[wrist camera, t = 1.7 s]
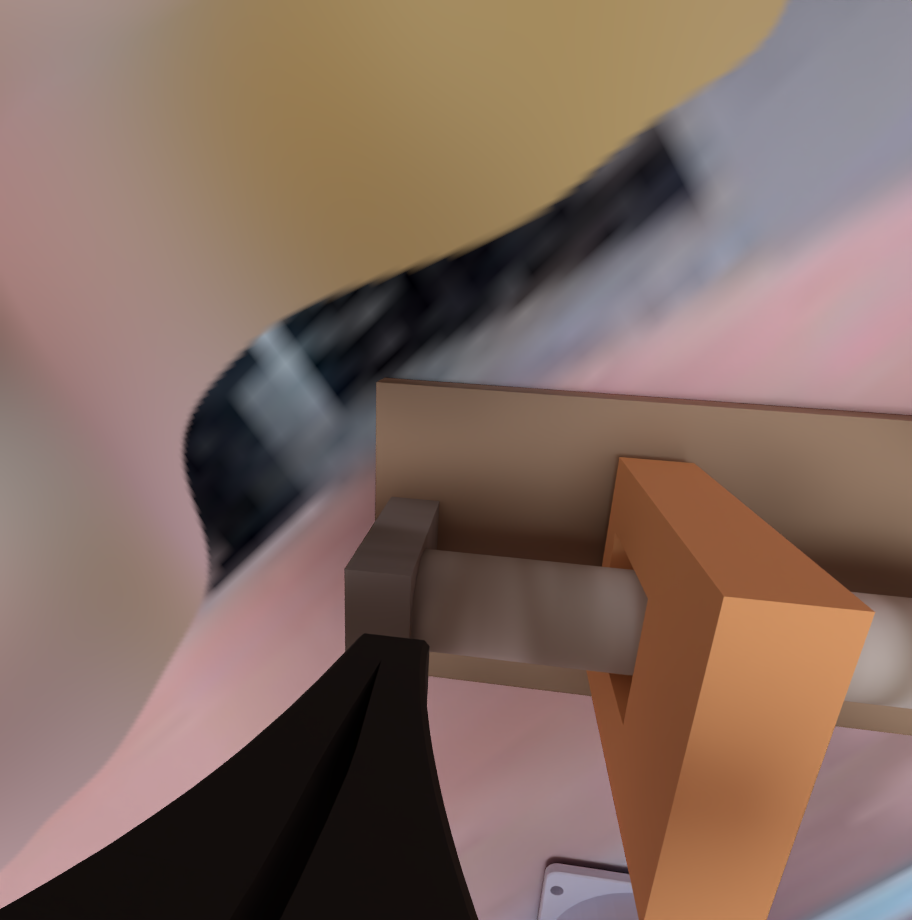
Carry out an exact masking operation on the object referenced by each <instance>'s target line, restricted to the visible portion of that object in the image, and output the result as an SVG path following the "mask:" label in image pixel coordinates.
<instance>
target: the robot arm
mask: <svg viewBox="0 0 912 920" xmlns="http://www.w3.org/2000/svg"><path fill="white" fill-rule="evenodd" d="M429 650H430V646H429V645H428V644H427V642H426V641H425V640H419V639H410V638H402V637H393V636H384V635H376V634H367V633H364V634H362V635H361V636H360V637H359V638H358V639H357V640H356V641H355V642H354V643H353V644H352V645H351V646H350V647H349V648H348V649H347V650H346V651H345V653H344V654H343V655H342V656H341V657H340V658H339V659H338V660H337V661H336V662H335V663H334V664H333V665H332V666H331V667H330V668H329V669H328V670H327V671H326V672H325V673H324V674H323V675H322V676H321V677H320V678H319V679H318V680H317V681H316V682H315V683H314V684H313V685H312V686H311V687H310V688H309V689H308V690H307V691H306V692H305V693H304V694H303V695H302V696H301V697H300V698H299V699H298V700H297V701H296V702H295V703H293V704H292V705H291V706H290V707H289V708H288V709H287V710H286V711H285V712H284V713H283V714H282V715H280V716H279V717H278V718H277V719H276V720H275V721H274V722H272V723H271V724H270V725H269V726H268V727H267V728H266V729H264V730H263V731H262V732H261V733H260V734H259V735H258V736H256V737H255V738H254V739H253V740H252V741H251V742H250V743H248V744H247V745H246V746H245V747H244V748H242V749H241V750H240V751H239V752H238V753H236V754H235V755H234V756H233V757H231V758H230V759H229V760H228V761H226V762H225V763H224V764H223V765H221V766H220V767H219V768H218V769H216V770H215V771H214V772H212V773H211V774H210V775H208V776H207V777H206V778H204V779H203V780H202V781H200V782H199V783H198V784H196V785H195V786H194V787H193V788H191V789H190V790H188V791H187V792H186V793H184V794H183V795H181V796H180V797H179V798H177V799H176V800H174V801H173V802H171V803H170V804H169V805H167V806H166V807H164V808H163V809H161V810H160V811H159V812H157V813H156V814H154V815H153V816H151V817H150V818H148V819H147V820H145V821H144V822H142V823H141V824H139V825H138V826H136V827H135V828H133V829H132V830H130V831H129V832H127V833H126V834H125V835H123V836H122V837H120V838H119V839H117V840H116V841H114V842H113V843H111V844H109V845H108V846H106V847H105V848H103V849H101V850H100V851H98V852H97V853H95V854H93V855H92V856H90V857H88V858H87V859H85V860H83V861H82V862H80V863H78V864H77V865H75V866H73V867H72V868H70V869H68V870H67V871H65V872H64V873H62V874H60V875H59V876H57V877H55V878H54V879H52V880H50V881H48V882H47V883H45V884H43V885H41V886H40V887H38V888H36V889H35V890H33V891H31V892H29V893H28V894H26V895H24V896H23V897H21V898H19V899H17V900H16V901H14V902H12V903H10V904H8V905H7V906H5V907H3V908H1V909H0V920H478V917H477V914H476V911H475V908H474V905H473V902H472V899H471V896H470V893H469V890H468V887H467V884H466V881H465V878H464V875H463V872H462V869H461V865H460V862H459V858H458V855H457V851H456V848H455V844H454V841H453V837H452V834H451V830H450V826H449V822H448V818H447V814H446V811H445V807H444V803H443V798H442V794H441V789H440V785H439V780H438V776H437V770H436V765H435V760H434V754H433V749H432V743H431V736H430V729H429V720H428V712H427V692H428V671H429ZM538 920H639V918H638V914H637V909H636V904H635V899H634V895H633V890H632V885H631V880H630V876H629V874H626V873H619V872H612V871H606V870H599V869H593V868H586V867H580V866H573V865H566V864H560V863H554V864H550V865H549V866H548V867H547V868H546V870H545V875H544V881H543V888H542V894H541V901H540V907H539V914H538Z"/></svg>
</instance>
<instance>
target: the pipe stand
mask: <svg viewBox="0 0 912 920" xmlns="http://www.w3.org/2000/svg"><path fill="white" fill-rule="evenodd" d="M619 457H625V458H637V459H650V460H662V461H674V462H686V463H695V464H696V465H697V466H698V467H700V468H701V469H702V470H703V471H704V472H706V473H707V474H708V475H709V476H710V477H712V478H713V479H714V480H715V481H717V482H718V483H719V484H720V485H721V486H723V487H724V488H725V489H726V490H727V491H729V492H730V493H731V494H732V495H734V496H735V497H736V498H737V499H738V500H740V501H741V502H742V503H743V504H744V505H746V506H747V507H748V508H749V509H751V510H752V511H753V512H754V513H755V514H757V515H758V516H759V517H760V518H761V519H763V520H764V521H765V522H766V523H768V524H769V525H770V526H771V527H772V528H774V529H775V530H776V531H777V532H779V533H780V534H781V535H782V536H783V537H785V538H786V539H787V540H788V541H789V542H791V543H792V544H793V545H794V546H796V547H797V548H798V549H799V550H800V551H802V552H803V553H804V554H805V555H806V556H808V557H809V558H810V559H811V560H813V561H814V562H815V563H816V564H817V565H819V566H820V567H821V568H822V569H823V570H825V571H826V572H827V573H828V574H830V575H831V576H832V577H833V578H834V579H836V580H837V581H838V582H839V583H841V584H842V585H843V586H844V587H845V588H847V589H848V590H849V591H850V592H851V593H853V594H854V595H855V596H856V597H858V598H859V599H860V600H861V601H862V602H864V603H865V604H866V605H867V606H868V607H870V608H871V609H872V610H873V611H875V615H874V617H873V620H872V623H871V626H870V629H869V631H868V634H867V637H866V640H865V643H864V646H863V648H862V651H861V654H860V657H859V660H858V663H857V665H856V668H855V671H854V674H853V677H852V679H851V682H850V685H849V688H848V691H847V694H846V696H845V699H844V702H843V705H842V708H841V711H840V713H839V716H838V719H837V722H836V725H835V726H839V727H847V728H855V729H863V730H871V731H879V732H887V733H895V734H903V735H912V416H910V415H896V414H883V413H869V412H855V411H841V410H827V409H813V408H799V407H785V406H771V405H757V404H743V403H729V402H715V401H701V400H687V399H673V398H659V397H646V396H632V395H618V394H604V393H590V392H576V391H562V390H548V389H534V388H520V387H506V386H492V385H478V384H464V383H450V382H436V381H422V380H408V379H395V378H384V379H382V380H380V381H378V382H376V495H375V523H374V524H373V526H372V527H371V529H370V530H369V532H368V534H367V535H366V537H365V538H364V540H363V541H362V543H361V544H360V546H359V547H358V549H357V551H356V552H355V554H354V555H353V557H352V558H351V560H350V561H349V563H348V565H347V566H346V568H345V651H346V650H347V649H348V648H349V647H350V646H351V645H352V644H353V643H354V642H355V641H356V640H357V639H358V638H359V637H360V636H361V635H362V634H364V633H367V634H376V635H384V636H393V637H402V638H410V639H419V640H425V641H426V642H427V644H428V645H429V646H430V650H429V671H428V676H433V677H441V678H449V679H457V680H465V681H473V682H481V683H490V684H498V685H506V686H514V687H522V688H530V689H538V690H546V691H554V692H563V693H571V694H579V695H587V696H592V695H591V691H590V686H589V681H588V677H587V672H586V670H589V671H597V672H605V673H614V674H622V675H631V676H633V672H634V667H635V662H636V657H637V652H638V647H639V642H640V636H641V631H642V626H643V621H644V616H645V611H646V606H647V601H648V598H647V596H646V594H645V592H644V590H643V587H642V585H641V583H640V581H639V579H638V577H637V575H636V573H635V571H634V570H630V569H620V568H610V567H602V562H603V556H604V550H605V544H606V537H607V531H608V525H609V519H610V512H611V506H612V500H613V494H614V488H615V481H616V475H617V469H618V463H619Z"/></svg>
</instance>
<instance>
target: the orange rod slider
mask: <svg viewBox="0 0 912 920" xmlns="http://www.w3.org/2000/svg"><path fill="white" fill-rule="evenodd" d="M602 567H610V568H620V569H630V570H634V571H635V573H636V575H637V577H638V579H639V581H640V583H641V585H642V587H643V590H644V592H645V594H646V596H647V598H648V601H647V606H646V611H645V616H644V621H643V626H642V631H641V636H640V642H639V647H638V652H637V657H636V662H635V667H634V672H633V676H631V675H622V674H614V673H605V672H597V671H589V670H586V672H587V677H588V681H589V686H590V691H591V695H592V700H593V705H594V710H595V714H596V719H597V724H598V729H599V733H600V738H601V743H602V748H603V752H604V757H605V762H606V767H607V771H608V776H609V781H610V786H611V790H612V795H613V800H614V805H615V809H616V814H617V819H618V824H619V828H620V833H621V838H622V842H623V847H624V852H625V857H626V861H627V866H628V871H629V876H630V880H631V885H632V890H633V895H634V899H635V904H636V909H637V914H638V918H639V920H766V919H767V917H768V914H769V911H770V908H771V905H772V903H773V900H774V897H775V894H776V891H777V888H778V886H779V883H780V880H781V877H782V874H783V871H784V869H785V866H786V863H787V860H788V857H789V855H790V852H791V849H792V846H793V843H794V840H795V838H796V835H797V832H798V829H799V826H800V823H801V821H802V818H803V815H804V812H805V809H806V807H807V804H808V801H809V798H810V795H811V792H812V790H813V787H814V784H815V781H816V778H817V775H818V773H819V770H820V767H821V764H822V761H823V759H824V756H825V753H826V750H827V747H828V744H829V742H830V739H831V736H832V733H833V730H834V727H835V725H836V722H837V719H838V716H839V713H840V711H841V708H842V705H843V702H844V699H845V696H846V694H847V691H848V688H849V685H850V682H851V679H852V677H853V674H854V671H855V668H856V665H857V663H858V660H859V657H860V654H861V651H862V648H863V646H864V643H865V640H866V637H867V634H868V631H869V629H870V626H871V623H872V620H873V617H874V615H875V611H873V610H872V609H871V608H870V607H868V606H867V605H866V604H865V603H864V602H862V601H861V600H860V599H859V598H858V597H856V596H855V595H854V594H853V593H851V592H850V591H849V590H848V589H847V588H845V587H844V586H843V585H842V584H841V583H839V582H838V581H837V580H836V579H834V578H833V577H832V576H831V575H830V574H828V573H827V572H826V571H825V570H823V569H822V568H821V567H820V566H819V565H817V564H816V563H815V562H814V561H813V560H811V559H810V558H809V557H808V556H806V555H805V554H804V553H803V552H802V551H800V550H799V549H798V548H797V547H796V546H794V545H793V544H792V543H791V542H789V541H788V540H787V539H786V538H785V537H783V536H782V535H781V534H780V533H779V532H777V531H776V530H775V529H774V528H772V527H771V526H770V525H769V524H768V523H766V522H765V521H764V520H763V519H761V518H760V517H759V516H758V515H757V514H755V513H754V512H753V511H752V510H751V509H749V508H748V507H747V506H746V505H744V504H743V503H742V502H741V501H740V500H738V499H737V498H736V497H735V496H734V495H732V494H731V493H730V492H729V491H727V490H726V489H725V488H724V487H723V486H721V485H720V484H719V483H718V482H717V481H715V480H714V479H713V478H712V477H710V476H709V475H708V474H707V473H706V472H704V471H703V470H702V469H701V468H700V467H698V466H697V465H696V464H695V463H686V462H674V461H662V460H650V459H637V458H625V457H619V463H618V469H617V475H616V481H615V488H614V494H613V500H612V506H611V512H610V519H609V525H608V531H607V537H606V544H605V550H604V556H603V562H602Z"/></svg>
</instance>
